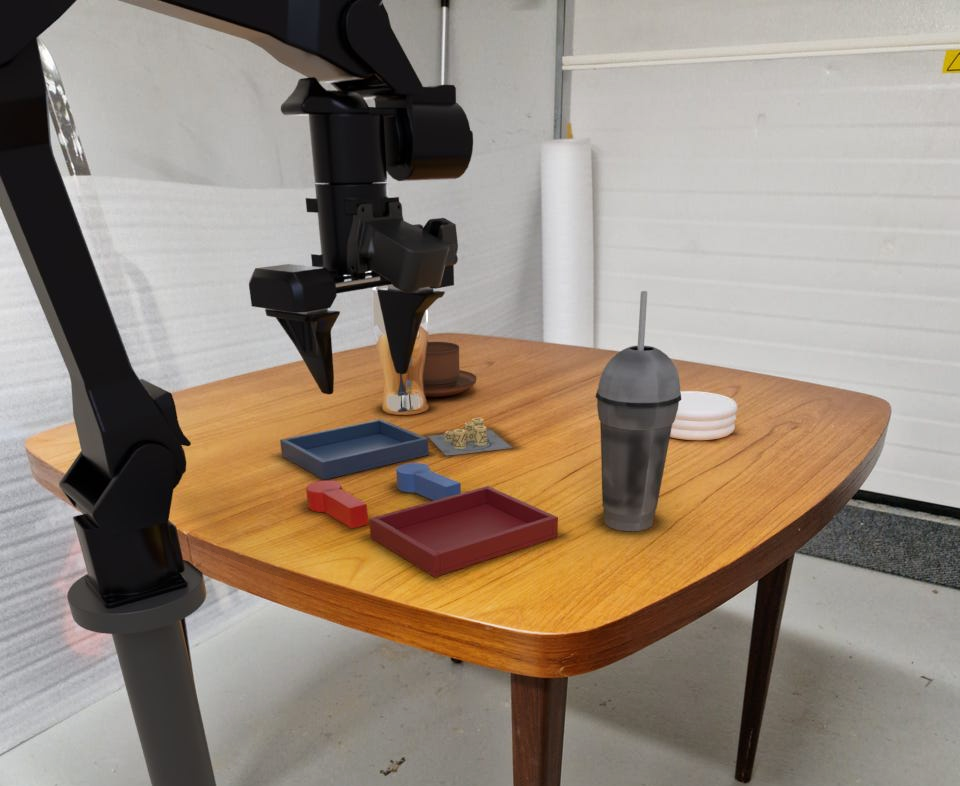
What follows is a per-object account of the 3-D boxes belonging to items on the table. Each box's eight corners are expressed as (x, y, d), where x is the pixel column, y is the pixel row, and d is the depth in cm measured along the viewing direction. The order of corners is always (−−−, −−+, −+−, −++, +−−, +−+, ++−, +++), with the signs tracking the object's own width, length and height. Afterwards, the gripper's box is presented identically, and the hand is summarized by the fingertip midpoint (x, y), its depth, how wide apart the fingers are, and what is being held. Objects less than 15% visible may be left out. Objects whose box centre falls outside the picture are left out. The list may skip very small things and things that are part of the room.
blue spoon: (467, 500, 84) (467, 480, 83) (440, 508, 82) (439, 489, 81) (417, 479, 89) (416, 460, 88) (390, 486, 87) (389, 467, 86)
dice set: (481, 433, 103) (481, 417, 102) (495, 445, 99) (495, 428, 98) (441, 437, 102) (441, 421, 101) (454, 450, 98) (453, 433, 97)
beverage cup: (673, 511, 80) (698, 284, 70) (662, 541, 74) (686, 297, 64) (597, 503, 83) (610, 281, 72) (580, 532, 77) (592, 294, 67)
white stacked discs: (752, 432, 102) (756, 403, 100) (689, 446, 98) (692, 416, 96) (693, 413, 109) (696, 385, 108) (633, 425, 105) (635, 397, 103)
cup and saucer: (424, 408, 113) (422, 360, 110) (375, 391, 122) (372, 346, 118) (493, 393, 120) (493, 347, 117) (443, 377, 128) (441, 335, 125)
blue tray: (324, 479, 89) (322, 462, 88) (281, 456, 97) (279, 439, 96) (428, 455, 96) (428, 438, 95) (381, 434, 103) (380, 418, 102)
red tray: (434, 577, 69) (433, 555, 68) (370, 537, 76) (368, 518, 75) (557, 536, 76) (558, 516, 75) (488, 504, 83) (488, 485, 82)
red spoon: (375, 522, 79) (374, 501, 78) (343, 530, 77) (341, 510, 76) (333, 497, 85) (331, 477, 84) (302, 504, 83) (299, 485, 82)
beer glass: (430, 416, 110) (424, 291, 103) (376, 416, 110) (367, 292, 103) (433, 402, 116) (428, 283, 109) (382, 402, 116) (374, 284, 109)
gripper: (335, 189, 57) (354, 421, 65) (502, 180, 70) (502, 375, 77) (230, 187, 63) (259, 399, 71) (402, 179, 76) (411, 360, 83)
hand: (366, 383), depth 75 cm, fingers open, 9 cm apart
